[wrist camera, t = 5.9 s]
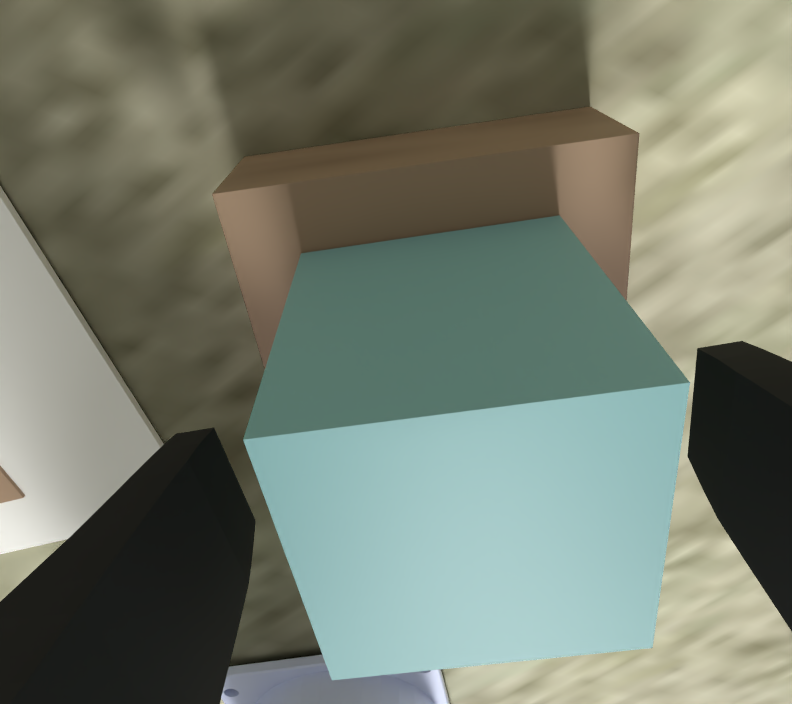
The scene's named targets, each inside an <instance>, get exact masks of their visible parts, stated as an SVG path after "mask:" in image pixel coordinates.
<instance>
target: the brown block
mask: <svg viewBox="0 0 792 704" xmlns="http://www.w3.org/2000/svg"><path fill="white" fill-rule="evenodd" d="M638 143H639V133H638V132H636V131H634V130H632V129H630V128H628V127H627V126H625V125H623V124H621V123H619V122H618V121H616V120H614V119H612V118H610V117H608V116H607V115H605V114H603V113H601V112H599V111H597V110H596V109H594V108H592V107H583V108H576V109H569V110H563V111H556V112H549V113H542V114H535V115H528V116H521V117H514V118H507V119H501V120H494V121H487V122H480V123H473V124H466V125H459V126H452V127H446V128H439V129H432V130H425V131H418V132H411V133H404V134H397V135H391V136H384V137H377V138H370V139H363V140H356V141H349V142H342V143H336V144H329V145H322V146H315V147H308V148H301V149H294V150H287V151H280V152H274V153H267V154H260V155H253V156H246V157H244V158H243V159H242V160H241V161H240V162H239V163H238V165H237V166H236V167H235V168H234V169H233V170H232V172H231V173H230V174H229V175H228V176H227V177H226V179H225V180H224V181H223V182H222V183H221V184H220V185H219V187H218V188H217V189H216V190H215V191H214V192H213V194H212V196H213V199H214V202H215V206H216V209H217V212H218V216H219V219H220V222H221V226H222V229H223V232H224V236H225V239H226V242H227V246H228V249H229V252H230V256H231V259H232V262H233V266H234V269H235V272H236V275H237V279H238V282H239V285H240V289H241V292H242V295H243V299H244V302H245V305H246V309H247V312H248V315H249V319H250V322H251V325H252V329H253V332H254V335H255V339H256V342H257V345H258V349H259V352H260V355H261V359H262V362H263V365H264V369H265V368H266V364H267V361H268V358H269V355H270V351H271V348H272V345H273V342H274V339H275V335H276V332H277V329H278V326H279V323H280V319H281V316H282V313H283V310H284V306H285V303H286V300H287V297H288V294H289V290H290V287H291V284H292V281H293V277H294V274H295V271H296V268H297V265H298V261H299V258H300V255H301V253H307V252H314V251H320V250H327V249H334V248H341V247H348V246H354V245H361V244H368V243H375V242H382V241H389V240H395V239H402V238H409V237H416V236H423V235H429V234H436V233H443V232H450V231H457V230H463V229H470V228H477V227H484V226H491V225H497V224H504V223H511V222H518V221H525V220H531V219H538V218H545V217H552V216H559V215H560V216H561V218H562V219H563V220H564V221H565V223H566V224H567V225H568V227H569V228H570V229H571V230H572V232H573V233H574V234H575V236H576V237H577V238H578V239H579V241H580V242H581V243H582V245H583V246H584V247H585V248H586V250H587V251H588V252H589V254H590V255H591V256H592V257H593V259H594V260H595V261H596V263H597V264H598V265H599V266H600V268H601V269H602V270H603V272H604V273H605V274H606V275H607V277H608V278H609V279H610V281H611V282H612V283H613V284H614V286H615V287H616V288H617V290H618V291H619V292H620V293H621V295H622V296H623V297H624V299H625V300H627V287H628V274H629V261H630V248H631V235H632V222H633V209H634V195H635V182H636V169H637V156H638Z"/></svg>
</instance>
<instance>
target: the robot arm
mask: <svg viewBox="0 0 792 704" xmlns="http://www.w3.org/2000/svg"><path fill="white" fill-rule="evenodd" d="M688 458H689V460H690V462H691V464H692V467H693V469H694V471H695V473H696V475H697V477H698V479H699V482H700V484H701V486H702V488H703V490H704V492H705V494H706V496H707V498H708V500H709V502H710V504H711V506H712V508H713V510H714V512H715V514H716V516H717V518H718V519H719V521H720V523H721V524H722V526H723V527H724V529H725V530H726V532H727V534H728V535H729V537H730V538H731V540H732V541H733V543H734V544H735V546H736V547H737V549H738V550H739V552H740V554H741V555H742V557H743V558H744V560H745V561H746V563H747V564H748V566H749V567H750V569H751V570H752V572H753V573H754V575H755V576H756V578H757V579H758V581H759V582H760V584H761V585H762V587H763V589H764V590H765V592H766V593H767V595H768V596H769V598H770V599H771V601H772V602H773V604H774V605H775V607H776V608H777V610H778V611H779V613H780V614H781V616H782V617H783V619H784V620H785V622H786V623H787V625H788V626H789V628H790V629H791V631H792V362H791V361H789V360H786V359H784V358H782V357H780V356H777V355H775V354H773V353H771V352H768V351H766V350H763V349H761V348H759V347H756V346H753V345H751V344H748V343H746V342H743V341H739V342H733V343H727V344H721V345H715V346H709V347H703V348H698V349H697V360H696V371H695V381H694V392H693V403H692V414H691V425H690V436H689V447H688ZM254 532H255V519H254V516H253V514H252V512H251V510H250V507H249V505H248V503H247V501H246V498H245V496H244V494H243V492H242V489H241V487H240V485H239V483H238V480H237V478H236V476H235V474H234V471H233V469H232V467H231V465H230V463H229V460H228V458H227V456H226V454H225V451H224V449H223V447H222V445H221V442H220V440H219V438H218V436H217V433H216V431H215V429H214V428H209V429H203V430H197V431H190V432H184V433H178V434H175V435H174V436H173V437H172V438H171V439H170V440H168V441H167V442H166V443H165V444H164V445H163V446H162V447H161V448H160V449H159V450H157V451H156V452H155V453H154V454H153V455H152V456H151V457H150V458H149V459H148V460H147V461H146V462H145V463H144V464H143V465H142V466H141V467H140V468H139V469H138V470H137V471H136V472H135V473H134V474H133V475H132V476H131V477H130V478H129V479H128V480H127V481H126V482H125V483H124V484H123V485H122V486H121V487H120V488H119V489H118V490H117V491H116V492H115V493H114V494H113V495H112V496H111V497H110V498H109V499H108V500H107V501H106V502H105V503H104V504H103V505H102V506H101V507H100V508H99V509H98V510H97V511H96V512H95V513H94V514H93V515H92V516H91V517H90V518H89V519H88V520H87V521H86V522H85V523H84V524H83V525H82V526H81V527H80V528H79V529H78V530H77V531H76V532H75V533H74V534H73V535H72V536H71V537H70V538H68V539H67V540H66V541H65V542H64V543H63V544H62V545H61V546H60V547H59V548H58V549H57V550H56V551H55V552H54V553H52V554H51V555H50V556H49V557H48V558H47V559H46V560H45V561H44V562H43V563H42V564H41V565H40V566H38V567H37V568H36V569H35V570H34V571H33V572H32V573H31V574H30V575H29V576H28V577H27V578H26V579H24V580H23V581H22V582H21V583H20V584H19V585H18V586H17V587H16V588H15V589H14V590H13V591H12V592H10V593H9V594H8V595H7V596H6V597H5V598H4V599H3V600H2V601H1V602H0V704H220V700H221V698H222V700H223V702H224V703H225V704H450V702H449V698H448V694H447V690H446V687H445V683H444V679H443V675H442V671H441V669H439V670H429V671H419V672H409V673H399V674H389V675H380V676H370V677H360V678H350V679H340V680H332V679H331V677H330V674H329V671H328V668H327V666H326V663H325V660H324V658H323V655H315V656H307V657H299V658H291V659H284V660H276V661H268V662H260V663H253V664H245V665H237V666H229V664H230V660H231V656H232V651H233V647H234V643H235V639H236V635H237V631H238V627H239V623H240V618H241V614H242V610H243V606H244V602H245V597H246V593H247V589H248V584H249V577H250V569H251V561H252V553H253V542H254Z"/></svg>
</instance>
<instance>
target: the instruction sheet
mask: <svg viewBox="0 0 792 704" xmlns="http://www.w3.org/2000/svg"><path fill="white" fill-rule="evenodd" d="M163 445H164V443H163V442H162V440H161V439H160V437H159V436H158V434H157V432H156V431H155V429H154V428H153V426H152V425H151V423H150V421H149V420H148V418H147V417H146V415H145V414H144V412H143V410H142V409H141V407H140V406H139V404H138V402H137V401H136V399H135V398H134V396H133V395H132V393H131V391H130V390H129V388H128V387H127V385H126V384H125V382H124V380H123V379H122V377H121V376H120V374H119V372H118V371H117V369H116V368H115V366H114V365H113V363H112V361H111V360H110V358H109V357H108V355H107V354H106V352H105V350H104V349H103V347H102V346H101V344H100V342H99V341H98V339H97V338H96V336H95V335H94V333H93V331H92V330H91V328H90V327H89V325H88V324H87V322H86V320H85V319H84V317H83V316H82V314H81V313H80V311H79V309H78V308H77V306H76V305H75V303H74V301H73V300H72V298H71V297H70V295H69V294H68V292H67V290H66V289H65V287H64V286H63V284H62V283H61V281H60V279H59V278H58V276H57V275H56V273H55V271H54V270H53V268H52V267H51V265H50V264H49V262H48V260H47V259H46V257H45V256H44V254H43V253H42V251H41V249H40V248H39V246H38V245H37V243H36V241H35V240H34V238H33V237H32V235H31V234H30V232H29V230H28V229H27V227H26V226H25V224H24V223H23V221H22V219H21V218H20V216H19V215H18V213H17V212H16V210H15V208H14V207H13V205H12V204H11V202H10V200H9V199H8V197H7V196H6V194H5V193H4V191H3V189H2V188H1V186H0V554H3V553H8V552H12V551H17V550H21V549H25V548H30V547H34V546H39V545H43V544H48V543H52V542H57V541H61V540H66V539H68V538H70V537H71V536H72V535H73V534H74V533H75V532H76V531H77V530H78V529H79V528H80V527H81V526H82V525H83V524H84V523H85V522H86V521H87V520H88V519H89V518H90V517H91V516H92V515H93V514H94V513H95V512H96V511H97V510H98V509H99V508H100V507H101V506H102V505H103V504H104V503H105V502H106V501H107V500H108V499H109V498H110V497H111V496H112V495H113V494H114V493H115V492H116V491H117V490H118V489H119V488H120V487H121V486H122V485H123V484H124V483H125V482H126V481H127V480H128V479H129V478H130V477H131V476H132V475H133V474H134V473H135V472H136V471H137V470H138V469H139V468H140V467H141V466H142V465H143V464H144V463H145V462H146V461H147V460H148V459H149V458H150V457H151V456H152V455H153V454H154V453H155V452H156V451H157V450H159V449H160V448H161V447H162V446H163Z"/></svg>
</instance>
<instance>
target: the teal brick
mask: <svg viewBox="0 0 792 704" xmlns="http://www.w3.org/2000/svg"><path fill="white" fill-rule="evenodd" d="M689 385H690V382H689V381H688V380H687V378H686V377H685V376H684V374H683V373H682V372H681V371H680V369H679V368H678V367H677V365H676V364H675V363H674V362H673V360H672V359H671V358H670V356H669V355H668V354H667V353H666V351H665V350H664V349H663V347H662V346H661V345H660V344H659V342H658V341H657V340H656V338H655V337H654V336H653V335H652V333H651V332H650V331H649V329H648V328H647V327H646V326H645V324H644V323H643V322H642V320H641V319H640V318H639V317H638V315H637V314H636V313H635V311H634V310H633V309H632V308H631V306H630V305H629V304H628V302H627V301H626V300H625V299H624V297H623V296H622V295H621V293H620V292H619V291H618V290H617V288H616V287H615V286H614V284H613V283H612V282H611V281H610V279H609V278H608V277H607V275H606V274H605V273H604V272H603V270H602V269H601V268H600V266H599V265H598V264H597V263H596V261H595V260H594V259H593V257H592V256H591V255H590V254H589V252H588V251H587V250H586V248H585V247H584V246H583V245H582V243H581V242H580V241H579V239H578V238H577V237H576V236H575V234H574V233H573V232H572V230H571V229H570V228H569V227H568V225H567V224H566V223H565V221H564V220H563V219H562V218H561V216H560V215H559V216H552V217H545V218H538V219H531V220H525V221H518V222H511V223H504V224H497V225H491V226H484V227H477V228H470V229H463V230H457V231H450V232H443V233H436V234H429V235H423V236H416V237H409V238H402V239H395V240H389V241H382V242H375V243H368V244H361V245H354V246H348V247H341V248H334V249H327V250H320V251H314V252H307V253H301V255H300V258H299V261H298V265H297V268H296V271H295V274H294V277H293V281H292V284H291V287H290V290H289V294H288V297H287V300H286V303H285V306H284V310H283V313H282V316H281V319H280V323H279V326H278V329H277V332H276V335H275V339H274V342H273V345H272V348H271V351H270V355H269V358H268V361H267V364H266V368H265V371H264V374H263V377H262V380H261V384H260V387H259V390H258V393H257V397H256V400H255V403H254V406H253V409H252V413H251V416H250V419H249V422H248V426H247V429H246V432H245V435H244V438H243V441H244V444H245V446H246V449H247V452H248V454H249V457H250V460H251V463H252V465H253V468H254V471H255V473H256V476H257V479H258V482H259V484H260V487H261V490H262V492H263V495H264V498H265V500H266V503H267V506H268V509H269V511H270V514H271V517H272V519H273V522H274V525H275V528H276V530H277V533H278V536H279V538H280V541H281V544H282V547H283V549H284V552H285V555H286V557H287V560H288V563H289V565H290V568H291V571H292V574H293V576H294V579H295V582H296V584H297V587H298V590H299V593H300V595H301V598H302V601H303V603H304V606H305V609H306V612H307V614H308V617H309V620H310V622H311V625H312V628H313V630H314V633H315V636H316V639H317V641H318V644H319V647H320V649H321V652H322V655H323V658H324V660H325V663H326V666H327V668H328V671H329V674H330V677H331V679H332V680H340V679H350V678H360V677H370V676H380V675H389V674H399V673H409V672H419V671H429V670H439V669H449V668H458V667H468V666H478V665H488V664H498V663H508V662H518V661H528V660H537V659H547V658H557V657H567V656H577V655H587V654H597V653H606V652H616V651H626V650H636V649H646V648H652V647H653V640H654V633H655V626H656V619H657V612H658V605H659V598H660V590H661V583H662V576H663V569H664V562H665V555H666V548H667V541H668V534H669V527H670V520H671V513H672V506H673V498H674V491H675V484H676V477H677V470H678V463H679V456H680V449H681V442H682V435H683V428H684V421H685V413H686V406H687V399H688V392H689Z"/></svg>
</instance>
